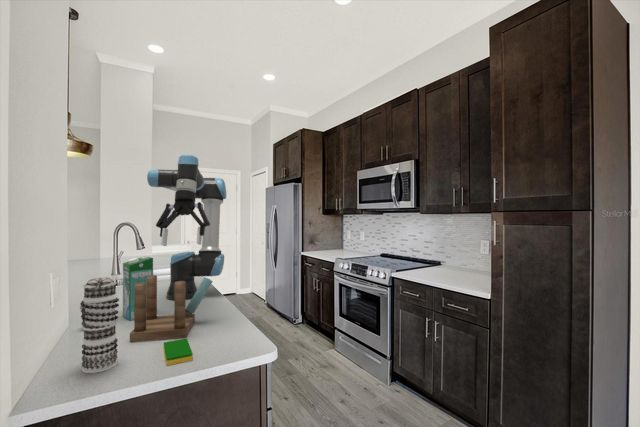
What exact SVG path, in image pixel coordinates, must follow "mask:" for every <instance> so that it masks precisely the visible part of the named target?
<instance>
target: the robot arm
mask: <svg viewBox="0 0 640 427" xmlns="http://www.w3.org/2000/svg"><path fill="white" fill-rule="evenodd" d="M146 176H147V177H146V178H147V184H148V186H149V187H151V188H164V189H168V190H171V191H174V192H175V195H174V204H171V203H166V205H165V209H164V210H163V212H162V214H161V215H160V217H159V219H158V220H157V222H156V224H155V227H157V228H159V229H160V231H159V232H160V233H159V237H160V238H161V240H160V241H161V242H160V245H161V246H163V247H166V246H167V245H168V234H169V229H168V227H169V226H170V225H171V224H172V223H173V222H174V221H175V220H176V219H177V217H179V216H189V215H191V217H192V218H193V219H194V221H196V223H197V224H198V225H199V226H197V231H196V232H197V233H196V244H197V245H201V248H200V249H199V250H198V254H197V253H195V251H185V252H179V253H176V254H175V253H174V254H172V255H171V256H170V263H169V265H170V280H169V281H170V283H169V286H168V289H167V292H166V299H167V300H170V301H175V282H176V281H186V283H185V300H191V299H192V298H193V296H194V294H195V293H196V291H197V289H198V288H197V285H196V283H195V277H218V276H220V275H221V274H222V272H223V269H224V266H225V265H224V264H225V254H224V253H222V250H221V249H220V247H219V245H220V244H219V243H220V222H221V220H220V218H221V205H222V204H223V203H224V200H225V199H227V188H226V183H225V180H224V178H220V177H204V176H203V175H202V173H201V171H200V170H199V158H198V157H197V156H196V155H193V154H186V153H185V154H181V155H180V156H179V157H178V161H177V169H158V168H156V169H150V170H148V172H147V175H146ZM196 199H198V200H199V199H200V200H201V202H199V201H198V202H197V203H196ZM195 209H198V212H199V214H200V216H201V219H200V217H199V216H198V215H197V214H196V212H195V211H194V210H195ZM167 247H168V246H167Z"/></svg>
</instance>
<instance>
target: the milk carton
mask: <svg viewBox="0 0 640 427" xmlns="http://www.w3.org/2000/svg"><path fill="white" fill-rule="evenodd" d="M152 275H154V257H150V256H146V255H145V256H141V257H134V258H130V259H128V260H127V261H126V262H123V264H122V316H123V317H124V318H125V319H127V320H129V321H130V322H131V321H134V300H135V283H140V282H145V283H146V295H147V276H152Z"/></svg>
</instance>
